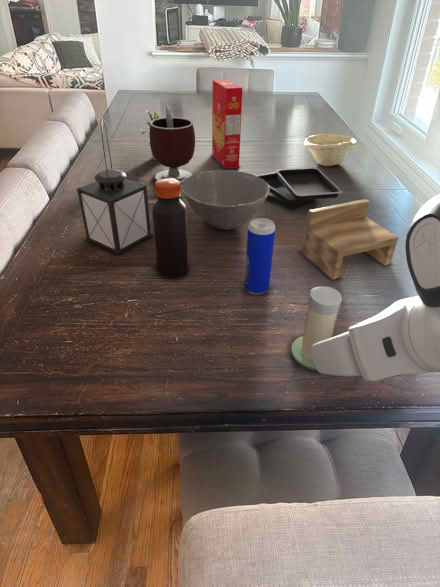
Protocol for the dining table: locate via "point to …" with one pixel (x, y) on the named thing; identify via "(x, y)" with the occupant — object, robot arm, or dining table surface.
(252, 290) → the beverage can
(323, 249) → the wooden stand
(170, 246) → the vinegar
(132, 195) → the lantern
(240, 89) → the food packaging
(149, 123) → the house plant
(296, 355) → the coaster
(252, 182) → the ceramic bowl
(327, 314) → the cylinder
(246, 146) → the dining table surface
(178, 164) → the mate gourd
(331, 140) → the bowl
